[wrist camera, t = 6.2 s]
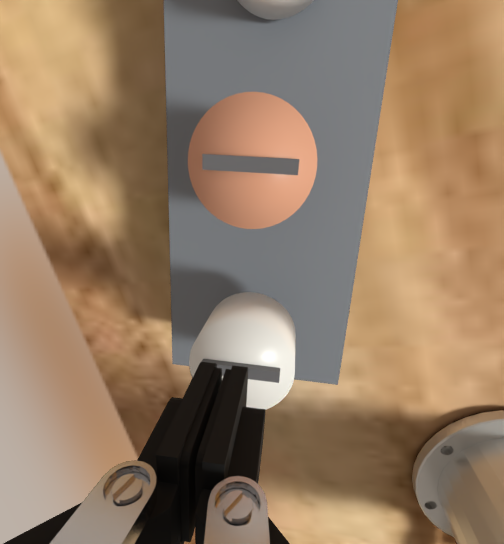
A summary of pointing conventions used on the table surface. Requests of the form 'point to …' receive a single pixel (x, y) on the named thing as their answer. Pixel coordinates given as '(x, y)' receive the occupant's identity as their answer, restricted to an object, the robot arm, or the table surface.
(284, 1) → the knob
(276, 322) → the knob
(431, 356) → the table surface
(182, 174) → the control rail
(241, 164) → the knob middle
